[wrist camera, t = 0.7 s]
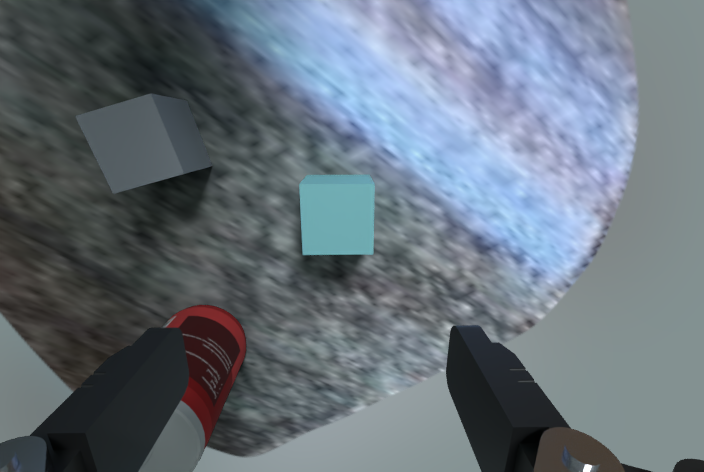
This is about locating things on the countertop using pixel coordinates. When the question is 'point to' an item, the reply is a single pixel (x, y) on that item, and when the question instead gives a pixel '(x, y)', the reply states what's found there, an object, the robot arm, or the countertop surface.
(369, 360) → the countertop surface
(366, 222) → the teal block
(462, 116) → the countertop surface
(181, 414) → the canned food
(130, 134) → the slate block
